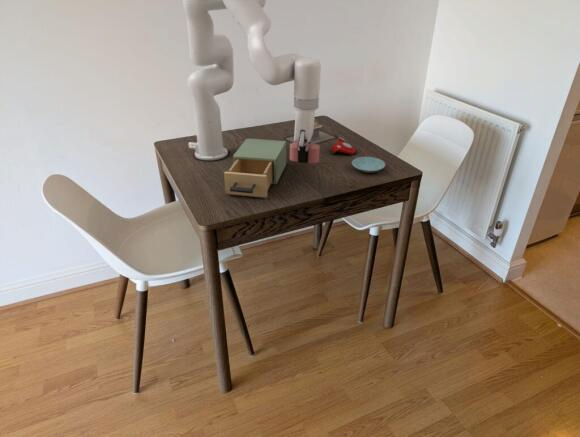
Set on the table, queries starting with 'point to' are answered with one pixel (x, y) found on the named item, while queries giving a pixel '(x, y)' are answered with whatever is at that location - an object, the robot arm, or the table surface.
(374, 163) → the saucer
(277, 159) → the cabinet
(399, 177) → the table surface
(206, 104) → the robot arm
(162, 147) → the table surface
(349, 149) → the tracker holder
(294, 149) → the pink notched rounded block
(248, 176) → the drawer
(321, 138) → the platform
